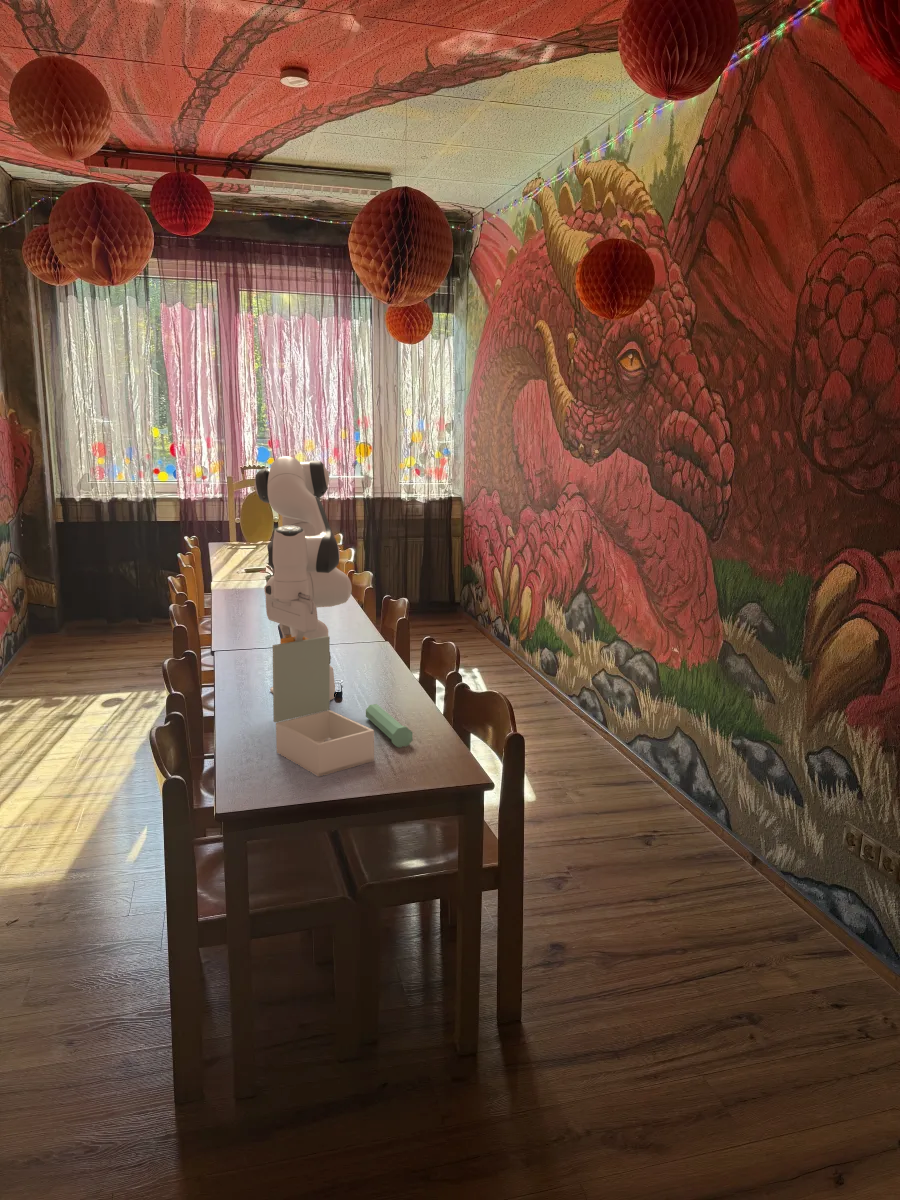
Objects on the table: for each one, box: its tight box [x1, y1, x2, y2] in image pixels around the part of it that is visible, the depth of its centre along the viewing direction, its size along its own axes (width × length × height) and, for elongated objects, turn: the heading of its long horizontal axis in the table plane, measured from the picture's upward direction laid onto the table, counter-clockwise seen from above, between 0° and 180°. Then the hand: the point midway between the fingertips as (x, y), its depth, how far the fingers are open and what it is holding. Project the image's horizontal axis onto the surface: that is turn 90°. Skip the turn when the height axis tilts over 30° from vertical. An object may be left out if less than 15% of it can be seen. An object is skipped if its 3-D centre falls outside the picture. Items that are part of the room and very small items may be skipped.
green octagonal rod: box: [365, 703, 413, 748], centre depth 234 cm, size 6×6×25 cm
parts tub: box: [275, 709, 375, 778], centre depth 215 cm, size 20×16×8 cm
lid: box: [272, 635, 331, 723], centre depth 222 cm, size 20×16×6 cm
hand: (292, 643), depth 222 cm, fingers open, 4 cm apart
